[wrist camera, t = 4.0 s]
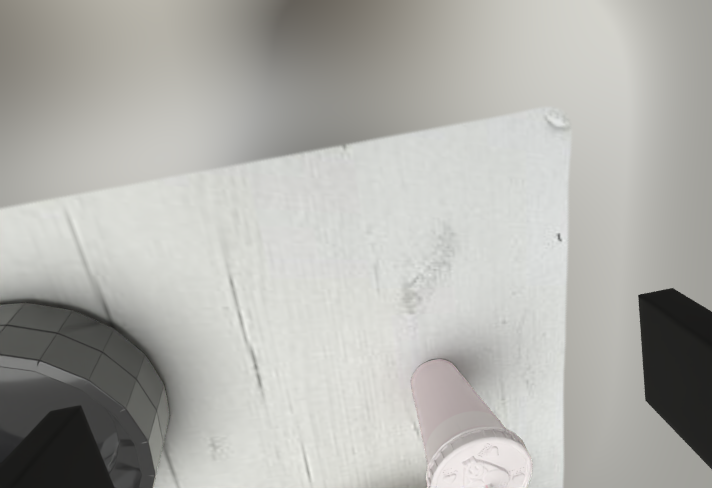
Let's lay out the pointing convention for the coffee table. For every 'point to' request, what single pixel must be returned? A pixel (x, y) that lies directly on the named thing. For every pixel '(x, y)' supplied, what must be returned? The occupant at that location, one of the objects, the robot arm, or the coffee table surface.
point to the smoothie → (464, 434)
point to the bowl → (81, 387)
